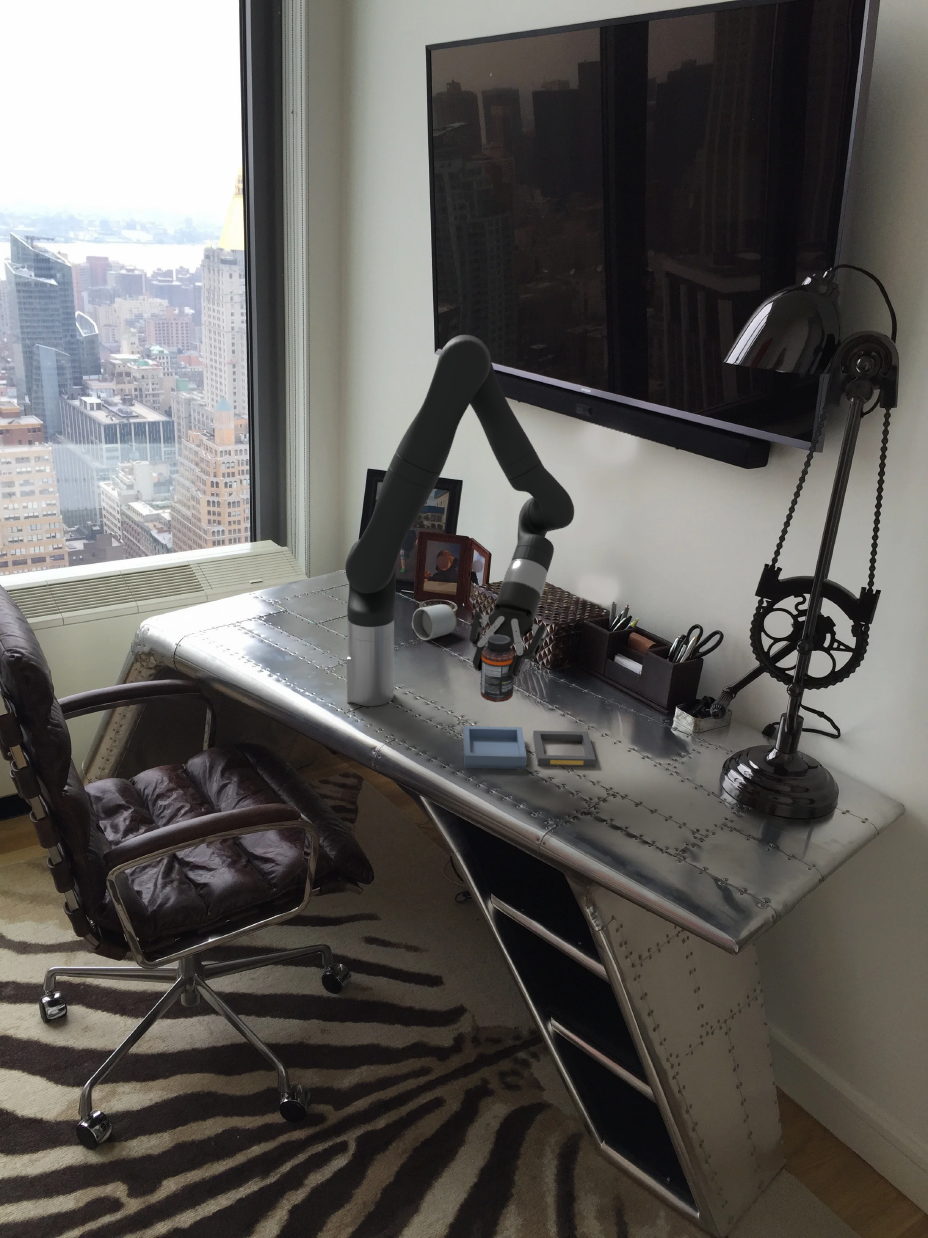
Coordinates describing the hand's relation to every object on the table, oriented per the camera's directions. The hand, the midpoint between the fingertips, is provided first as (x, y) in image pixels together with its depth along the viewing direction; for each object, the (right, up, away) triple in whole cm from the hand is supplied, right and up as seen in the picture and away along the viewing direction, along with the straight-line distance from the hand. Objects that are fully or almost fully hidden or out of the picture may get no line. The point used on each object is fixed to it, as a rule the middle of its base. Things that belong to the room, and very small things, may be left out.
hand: (494, 673), depth 175 cm
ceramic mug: (-13, +6, +59) cm, 61 cm away
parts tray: (0, -15, +8) cm, 17 cm away
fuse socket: (+13, -15, +9) cm, 22 cm away
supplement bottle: (0, -5, +4) cm, 6 cm away
